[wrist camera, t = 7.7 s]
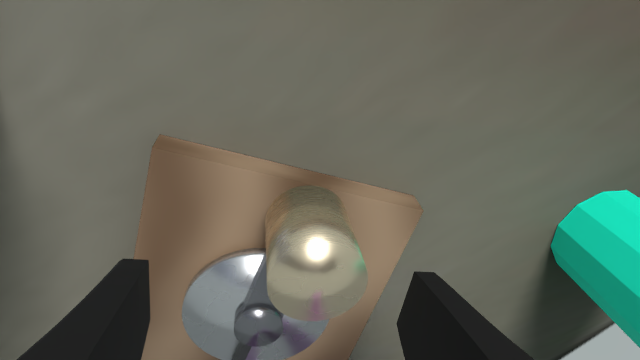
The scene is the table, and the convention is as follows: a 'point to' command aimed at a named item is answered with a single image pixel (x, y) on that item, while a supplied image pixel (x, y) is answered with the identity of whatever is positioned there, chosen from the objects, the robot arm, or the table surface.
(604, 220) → the candle
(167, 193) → the stand
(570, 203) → the table surface
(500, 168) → the table surface
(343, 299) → the crank dial
